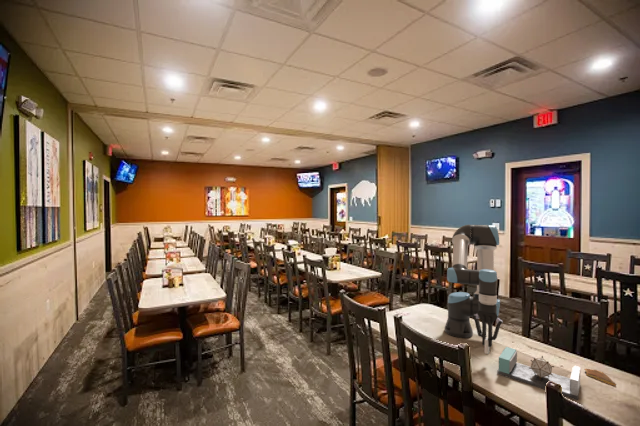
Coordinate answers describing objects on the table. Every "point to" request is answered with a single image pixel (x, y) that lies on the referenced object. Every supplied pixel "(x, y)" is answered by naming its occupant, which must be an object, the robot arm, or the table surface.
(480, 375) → the table surface
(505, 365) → the block
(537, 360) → the game die
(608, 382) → the shard
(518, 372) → the vise bed
